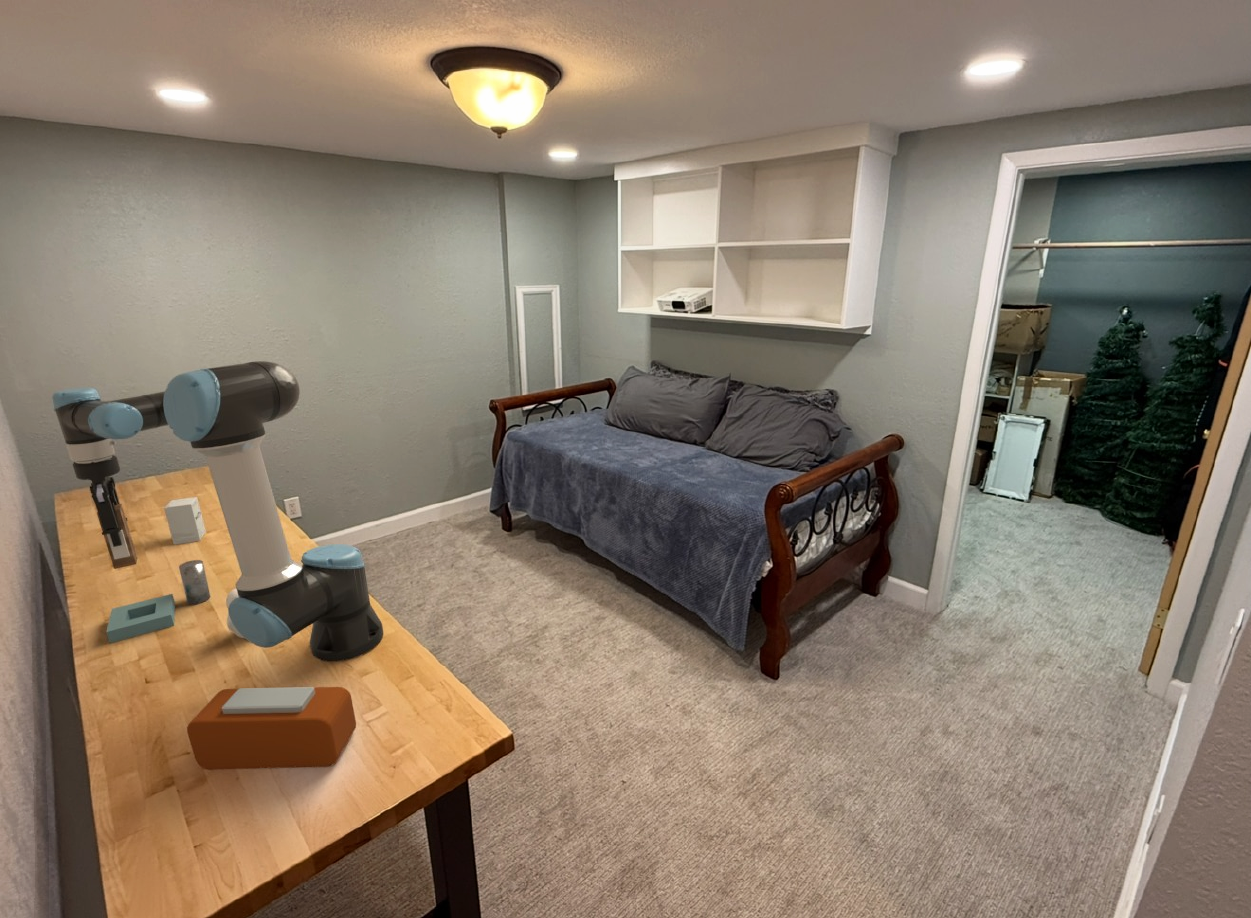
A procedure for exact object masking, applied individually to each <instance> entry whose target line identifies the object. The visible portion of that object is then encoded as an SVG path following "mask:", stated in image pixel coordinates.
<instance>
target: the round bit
mask: <svg viewBox="0 0 1251 918" xmlns="http://www.w3.org/2000/svg"><path fill="white" fill-rule="evenodd" d="M178 569H179V573H180V579H181V583H182V587H183V590H184V594H185V595H184V596H185V598H186V603H187V604H188V605H198V604H201V603H205V602H206V601H209V600H210V598H211V593H210V589H209V583H208V579H207V578H208V577H207V575H206V569H205V565H204V562H203V560H201V559H195V560H193V559H192V560H189V561H186V562H183V563H181V564H179V566H178Z"/></svg>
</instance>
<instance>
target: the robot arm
mask: <svg viewBox="0 0 1251 918" xmlns="http://www.w3.org/2000/svg"><path fill="white" fill-rule="evenodd" d="M300 393H301V391H300V385H299V382H298V380H297V377H295V376H294V374H293V373H292V371H290V369H288V368H286V367H285V366H283V365H281V364H278V363H277V362H276V363H275V362H272V361H267V360H266V361H265V360H263V361H262V360H261V361H259V360H258V361H250V362H245V363H239V364H237V363H236V364H230V365H224V366H216V367H210V368H199V369H195V370H191V371H187V372H184V373H180V374H178V375H175V376H174V377H172V379H171V380H170V381H169V382H168V383H167V385H166V389H165V390H164V391H160V392H155V393H149V394H144V395H137V396H131V397H127V398H126V397H124V398H120V399H114V400H107V401H104V400H102V398H101V397H100V395H99V393H98V391H97V389H95V388H92V387H77V388H75V387H74V388H67V389H63V390H58V391H55V392H54V393H53V394H52V396H51V400H52V404H53V411H54V412H55V414H56V417H57V421H58V422H59V426H60V429H61V432H62V435H63V439H64V442H65V446H66V449H67V452H68V456H69V458H70V459H69V460H70V461H72V462H73V463H72V467H73V470H74V475H75V477H76V478H77V479H78V480H82V481H86V480H87V481H91V482H90V486H89V492H90V493H91V498H92V500H93V502H94V505H95V507H96V510H97V511H98V514H99V518H100V521H101V524H102V527H103V530H104V531H102V532H101V535H102V536H104V535H105V534H107V537H108V540H109V543H110V546H111V550H112V553H113V556H114V559H119V558H124V557H129V556H130V554H129V551H128V547H127V544H126V541H125V537H124V534H123V531H122V530H121V528H120V525H119V521H118V517H117V514H116V510H115V506H114V505H117V504H121V503H120V500H119V496H118V491H117V489H116V482H115V479H114V477H113V476H114V475H116V474H118V473H119V472H120V471H121V467H120V463H119V460H118V458H117V457H118V456H116V455H115V453H116V451H115V447H114V446H115V445H117V442H116V441H115V440H126V439H129V438H133V437H135V436H136V435H137V434H138V433H140V432H144V431H145V432H146V431H148V430H153V429H157V428H160V427H166V426H168V427H169V429H171V430H172V433H173V434H174V436H176V437H177V438H178V439H179V440H181V441H185V442H189V443H190V445H191V448H192V450H193V451H195V452H197V453H199V454H201V455H203V456H205V459H206V463H207V466H208V469H209V473H210V475H211V478H212V481H213V482H212V483H213V486H214V489H215V493H216V495H217V499H218V501H219V505H220V507H221V508H220V509H221V512H222V515H223V518H224V521H225V524H226V527H227V531H228V534H229V537H230V540H231V544H232V547H233V551H234V553H235V556H236V560H237V563H238V566H239V569H240V572H241V575H240V576H239V578H238V579H237V580H236V582H235V585H234V586H235V589H237V592H238V596H239V598H235V599H234V600H233V601H232V602H231V603H230V605H229V608H227V611H228V613H229V616H230V619H231V621H232V623H233V625H234V626H235V628H236V629H237V630H238V632H239V633H240V634H241V635H242V636H243V637H244V638H243V639H246V640H247V641H248V642H250V644H252V645H254V646H256V647H259V648H273V647H275V646H277V645H280V644H281V643H282V642H284V641H287V640H290V639H291V638H292V637H293V636H295V635H296V634H298V633H300V632H302V630H304V629H306V628H308V627H309V626H311V625H312V628H311V633H310V637H309V638H310V639H309V647H310V652H311V655H312V657H314V659H317V660H320V661H323V662H328V663H329V662H331V663H332V662H333V663H334V662H343V661H348V660H351V659H355V658H357V657H359V656H362V655H364V654H367V653H369V652H370V651H372V650H373V649H374V648H375V647H377V646H378V645H379V643H381V641H382V639H383V638H384V637H383V636H384V627H383V623H382V621H381V619H380V618H379V616H378V614H377V613H376V611H375V609H374V607H372V605H371V601H370V595H369V593H370V592H369V588H368V581H367V576H366V570H365V569H366V568H365V566H366V565H365V563H364V559H363V555H362V552H361V551H360V549H359V548H357V547H355V546H352V545H349V544H344V543H343V544H327V545H325V544H324V545H321V546H317V547H313V548H310V549H308V550H306V551H305V552H304V553H303V554H302V556H301V559H300V561H301V562H298V561H295V560H293V559H292V557H291V553H290V550H289V546H288V543H287V539H286V536H285V533H284V529H283V524H282V522H281V517H280V514H279V511H278V507H277V504H276V503H277V502H276V500H275V497H274V493H273V490H272V486H271V482H270V479H269V476H268V472H267V469H266V465H265V461H264V458H263V453H262V451H261V450H262V449H261V447H260V445H261V443H262V441H263V440H264V439H265V437H266V436H267V434H266V430H265V428H264V424H265V423H269V422H273V421H275V420H278V419H281V418H283V417H285V416H287V415H288V414H289V413H290V412H292V411H293V409H295V407H296V406H297V404H298V401H299V399H300ZM97 511H96V512H97ZM126 521H127V522H128V517H126ZM301 563H302V564H301Z"/></svg>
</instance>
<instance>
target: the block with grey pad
mask: <svg viewBox="0 0 1251 918" xmlns="http://www.w3.org/2000/svg"><path fill="white" fill-rule="evenodd" d="M356 728H357V720H356V716H355V710H354V705H353V700H352V695H351V693H350V691H349V690H347V688H344V687H341V686H318V687H317V686H302V687H300V686H299V687H297V686H295V687H293V686H291V687H250V688H249V687H247V688H243V687H242V688H224V689H221V690H220V691H218V692H217V693H216V694H215V695H214V696H213V698H212V699H211V700H210V701H208V703H207V704H206V705H205V706H204V707H203V708H202V709H201V710H200V711H199V712H198V713H197V714H196V715H195V717H193V719H192V720H191V721H189V723H188V724H187V726H186V733H187V736H188V740H189V743H190V747H191V749H192V753H193V756H194V761H195V762H196V764H197V765H198V766H199V767H200V768H203V769H204V770H239V769H240V770H243V769H244V770H249V769H250V770H251V769H253V770H254V769H288V768H289V769H293V768H294V769H296V768H297V769H298V768H328V767H331V766H333V765H335V764H336V763H337V761H338V759H339V758H340V756H341V755H342V753H343V750H344V749H345V748H346V746H347V744H348V742H349V741H350V739H351V737H352V735H353V733H354V732H355V730H356Z"/></svg>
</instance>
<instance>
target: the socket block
mask: <svg viewBox="0 0 1251 918" xmlns="http://www.w3.org/2000/svg"><path fill="white" fill-rule="evenodd" d="M173 594H174V593H170V594H166V595H161V596H158V597H154V598H150V599H145V600H142V601H137V602H134V603H130V604H126V605H122V606H119V607H114V608H111V612H110V615H109V619H108V623H107V627H106V632H105V633H106V636H107V639H108V642H109V644H112V643H116V642H119V641H123V640H127V639H131V638H134V637H138V636H142V635H145V634H149V633H152V632H156V631H160V630H163V629H167V628H170V627H174V626H175V620H176V619H175V617H176V614H175V613H176V601H175V597H174V595H173Z"/></svg>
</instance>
